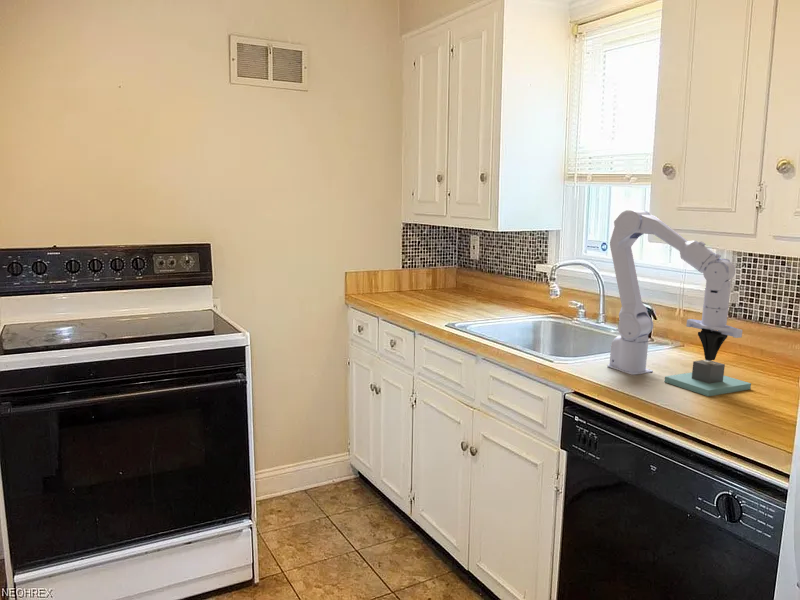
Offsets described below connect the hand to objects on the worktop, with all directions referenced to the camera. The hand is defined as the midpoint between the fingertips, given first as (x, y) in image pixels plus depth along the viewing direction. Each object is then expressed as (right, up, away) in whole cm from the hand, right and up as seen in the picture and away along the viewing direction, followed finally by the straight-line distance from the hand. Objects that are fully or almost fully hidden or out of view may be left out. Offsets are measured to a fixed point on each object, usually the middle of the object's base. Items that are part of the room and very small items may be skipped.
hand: (709, 359), depth 164 cm
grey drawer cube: (0, -5, +1) cm, 5 cm away
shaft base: (0, -7, +1) cm, 7 cm away
